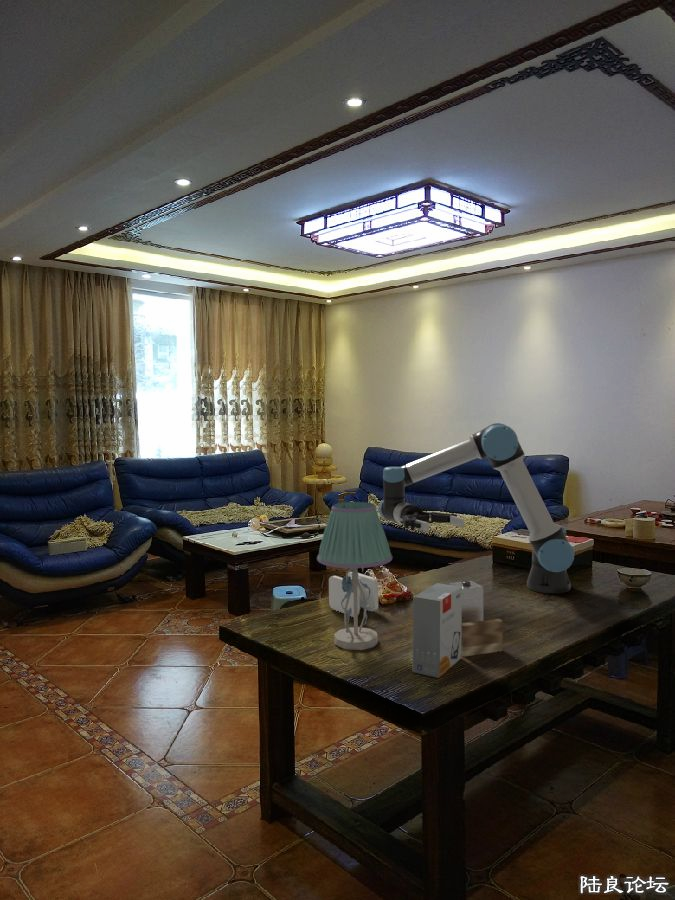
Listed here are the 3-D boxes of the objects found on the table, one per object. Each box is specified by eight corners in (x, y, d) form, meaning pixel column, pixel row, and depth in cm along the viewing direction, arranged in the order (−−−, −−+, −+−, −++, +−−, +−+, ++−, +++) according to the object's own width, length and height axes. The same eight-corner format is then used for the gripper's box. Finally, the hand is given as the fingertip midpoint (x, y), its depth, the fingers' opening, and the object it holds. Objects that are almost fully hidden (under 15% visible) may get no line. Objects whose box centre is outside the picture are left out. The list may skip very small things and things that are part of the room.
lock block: (470, 626, 193) (470, 577, 192) (483, 634, 187) (483, 583, 186) (449, 630, 191) (449, 580, 190) (461, 638, 184) (461, 586, 183)
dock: (471, 629, 198) (471, 601, 198) (502, 651, 181) (502, 620, 180) (434, 634, 195) (434, 606, 194) (463, 656, 178) (463, 626, 177)
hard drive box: (439, 679, 164) (439, 601, 162) (411, 673, 168) (410, 597, 166) (462, 658, 177) (462, 585, 175) (436, 652, 181) (435, 581, 179)
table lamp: (342, 624, 205) (340, 497, 202) (405, 636, 194) (404, 502, 191) (304, 647, 186) (300, 508, 183) (371, 662, 175) (369, 514, 172)
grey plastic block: (327, 608, 221) (326, 574, 220) (351, 602, 227) (350, 569, 226) (355, 620, 209) (355, 584, 208) (380, 612, 215) (379, 578, 215)
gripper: (438, 522, 231) (477, 532, 212) (377, 529, 220) (412, 541, 201) (438, 501, 231) (477, 509, 212) (377, 507, 220) (412, 517, 201)
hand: (445, 525), depth 206 cm, fingers open, 13 cm apart
